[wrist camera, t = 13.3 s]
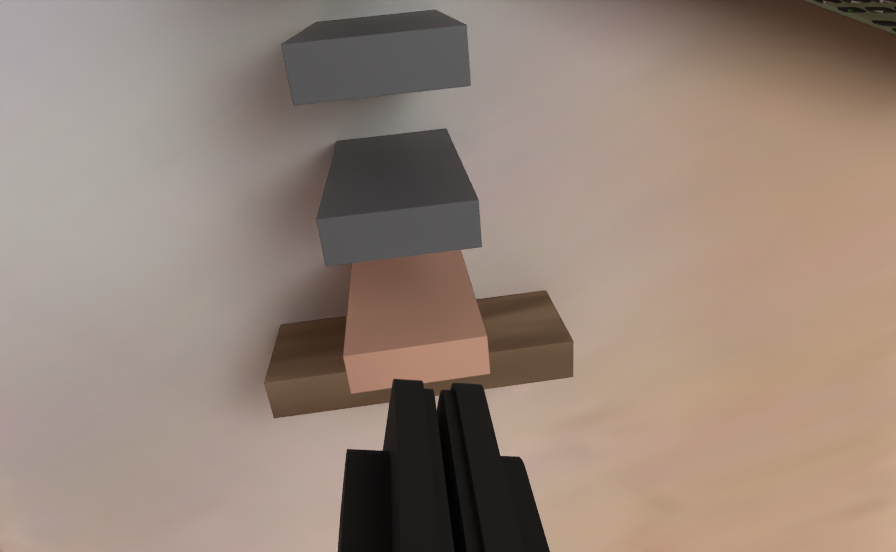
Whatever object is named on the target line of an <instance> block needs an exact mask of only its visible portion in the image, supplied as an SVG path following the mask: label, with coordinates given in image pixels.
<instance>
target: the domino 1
mask: <svg viewBox="0 0 896 552" xmlns="http://www.w3.org/2000/svg"><path fill="white" fill-rule="evenodd" d="M281 46H282V51H283V56H284V61H285V66H286V71H287V76H288V81H289V86H290V90H291V95H292V100H293V105H303V104H312V103H321V102H330V101H339V100H348V99H357V98H366V97H375V96H384V95H393V94H402V93H411V92H420V91H429V90H438V89H447V88H456V87H465V86H471V82H470V68H469V53H468V39H467V25H466V24H464V23H461V22H459V21H457V20H455V19H453V18H451V17H449V16H447V15H445V14H443V13H441V12H439V11H437V10H428V11H419V12H409V13H399V14H390V15H380V16H370V17H361V18H351V19H342V20H332V21H322V22H316V23H314V24H313V25H311V26H310V27H308V28H306V29H305V30H303V31H302V32H300V33H299V34H297V35H295V36H294V37H292V38H291V39H289V40H288V41H286V42H284V43H283V44H281Z"/></svg>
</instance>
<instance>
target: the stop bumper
mask: <svg viewBox="0 0 896 552" xmlns="http://www.w3.org/2000/svg"><path fill="white" fill-rule="evenodd" d="M476 301H477V304H478V308H479V311H480V314H481V318H482V321H483V324H484V327H485V331H486V334H487V340H488V352H489V364H490V374H485V375H478V376H471V377H464V378H457V379H450V380H443V381H436V382H429V383H423V385H424V389H433V390H434V396H439V395H440V392H441V390H450V388H451V385H452V383H468V384H481V385H482V386H483V388H484V389H489V388H497V387H504V386H511V385H518V384H525V383H533V382H540V381H547V380H554V379H562V378H569V377H573V340H572V338H571V336H570V334H569V332H568V330H567V329H566V327H565V325H564V323H563V321H562V319H561V317H560V316H559V314H558V312H557V310H556V308H555V306H554V304H553V303H552V301H551V299H550V297H549V295H548V293H547V291H539V292H531V293H523V294H516V295H508V296H500V297H493V298H485V299H477V300H476ZM346 321H347V316H346V317H339V318H331V319H323V320H316V321H308V322H300V323H293V324H285V325H281V326H280V329H279V333H278V336H277V340H276V343H275V347H274V350H273V354H272V357H271V361H270V364H269V368H268V371H267V375H266V378H265V382H264V384H265V388H266V391H267V395H268V398H269V402H270V405H271V409H272V412H273V416H274V418H279V417H286V416H294V415H301V414H308V413H315V412H323V411H330V410H337V409H344V408H352V407H359V406H366V405H373V404H381V403H388V402H390V396H391V389H392V388H388V389H381V390H374V391H367V392H360V393H353V394H351V391H350V386H349V381H348V377H347V372H346V367H345V363H344V358H343V353H344V342H345V332H346Z"/></svg>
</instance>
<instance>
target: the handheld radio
mask: <svg viewBox="0 0 896 552" xmlns="http://www.w3.org/2000/svg"><path fill="white" fill-rule="evenodd" d="M804 1H806V2H809V3H812V4H814V5H817V6H820V7H822V8H825V9H828V10H830V11H833V12H836V13H839V14H841V15H844V16H847V17H849V18H852V19H855V20H857V21H860V22H863V23H865V24H868V25H871V26H873V27H876V28H879V29H881V30H884V31H887V32H889V33H892V34H895V35H896V0H804Z"/></svg>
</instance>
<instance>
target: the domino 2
mask: <svg viewBox="0 0 896 552" xmlns="http://www.w3.org/2000/svg"><path fill="white" fill-rule="evenodd" d="M316 220H317V225H318V230H319V235H320V240H321V245H322V250H323V255H324V260H325V264H326V267H327V266H335V265H343V264H351V263H359V262H367V261H375V260H383V259H390V258H398V257H406V256H414V255H422V254H430V253H438V252H446V251H454V250H462V249H470V248H478V247H482V242H481V228H480V214H479V200H478V198H477V195H476V193H475V191H474V189H473V187H472V184H471V182H470V180H469V178H468V175H467V173H466V171H465V169H464V167H463V164H462V162H461V160H460V158H459V156H458V153H457V151H456V149H455V147H454V145H453V142H452V140H451V138H450V136H449V133H448V131H447V129H438V130H429V131H421V132H412V133H403V134H394V135H386V136H377V137H368V138H359V139H351V140H342V141H337V144H336V147H335V151H334V155H333V159H332V163H331V166H330V170H329V174H328V178H327V181H326V185H325V189H324V193H323V196H322V200H321V204H320V208H319V212H318V215H317V219H316Z"/></svg>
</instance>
